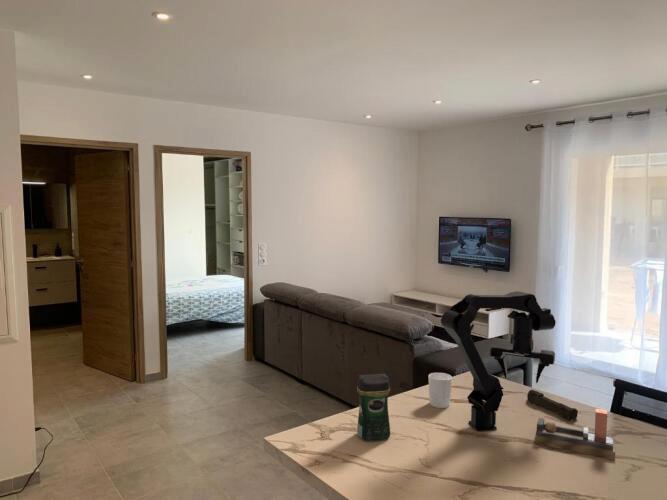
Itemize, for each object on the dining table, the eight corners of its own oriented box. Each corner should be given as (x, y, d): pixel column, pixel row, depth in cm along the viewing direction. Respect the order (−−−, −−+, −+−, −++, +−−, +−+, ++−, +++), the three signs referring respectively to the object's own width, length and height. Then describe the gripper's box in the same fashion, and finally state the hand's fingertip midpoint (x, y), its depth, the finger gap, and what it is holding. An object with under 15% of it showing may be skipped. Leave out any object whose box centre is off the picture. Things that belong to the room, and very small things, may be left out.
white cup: (453, 409, 166) (454, 380, 165) (430, 409, 166) (430, 380, 165) (448, 400, 174) (449, 372, 173) (426, 400, 174) (426, 372, 173)
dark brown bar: (578, 420, 158) (579, 406, 158) (569, 422, 156) (570, 408, 156) (533, 399, 175) (533, 387, 175) (524, 401, 174) (525, 388, 173)
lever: (583, 441, 138) (584, 411, 137) (583, 435, 142) (584, 405, 141) (612, 447, 134) (614, 416, 134) (612, 441, 138) (613, 410, 138)
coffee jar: (385, 429, 151) (386, 369, 149) (392, 441, 143) (393, 378, 141) (354, 431, 149) (354, 371, 148) (359, 443, 141) (360, 380, 140)
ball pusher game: (534, 443, 142) (535, 426, 141) (537, 431, 149) (538, 415, 149) (614, 459, 132) (615, 441, 132) (613, 445, 140) (614, 428, 140)
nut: (548, 436, 142) (549, 425, 141) (541, 431, 145) (542, 420, 145) (558, 435, 142) (559, 424, 142) (551, 430, 145) (552, 419, 145)
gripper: (557, 329, 158) (555, 377, 159) (496, 323, 167) (495, 368, 168) (554, 337, 148) (552, 388, 149) (490, 330, 157) (489, 378, 158)
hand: (521, 380), depth 156 cm, fingers open, 9 cm apart
